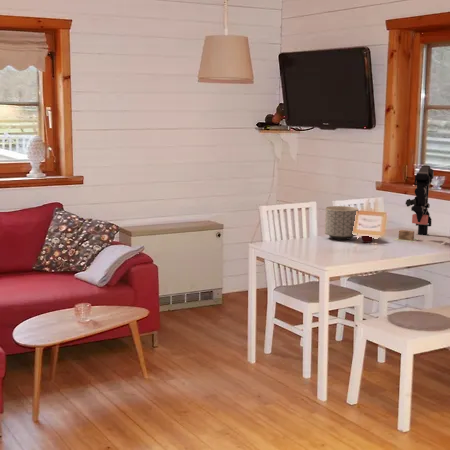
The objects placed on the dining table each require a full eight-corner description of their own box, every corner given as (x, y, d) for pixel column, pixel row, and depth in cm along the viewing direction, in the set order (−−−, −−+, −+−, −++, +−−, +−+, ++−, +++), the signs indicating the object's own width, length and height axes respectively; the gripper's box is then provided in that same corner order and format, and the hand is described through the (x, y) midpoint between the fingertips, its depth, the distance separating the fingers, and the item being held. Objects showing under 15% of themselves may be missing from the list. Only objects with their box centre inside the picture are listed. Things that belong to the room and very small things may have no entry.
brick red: (411, 223, 436) (412, 214, 435) (414, 222, 440) (414, 213, 439) (425, 224, 432) (426, 215, 431) (427, 223, 435) (428, 215, 435)
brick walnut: (398, 239, 440) (398, 230, 439) (400, 238, 443) (400, 229, 442) (411, 240, 436) (412, 232, 435) (413, 239, 439) (414, 231, 438)
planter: (331, 242, 433) (332, 211, 430) (319, 236, 452) (321, 206, 449) (362, 241, 438) (363, 210, 435) (349, 235, 456) (350, 205, 453)
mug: (371, 240, 440) (372, 223, 439) (380, 243, 433) (381, 225, 432) (357, 242, 435) (358, 224, 434) (366, 244, 428) (366, 227, 427)
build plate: (399, 238, 448) (399, 236, 447) (419, 240, 442) (419, 238, 442) (392, 241, 437) (393, 239, 437) (413, 243, 432) (413, 241, 431)
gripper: (411, 192, 445) (410, 218, 448) (403, 195, 429) (401, 222, 431) (430, 193, 440) (429, 219, 442) (422, 197, 424) (421, 224, 426)
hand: (419, 221), depth 436 cm, fingers closed on brick red, 4 cm apart
